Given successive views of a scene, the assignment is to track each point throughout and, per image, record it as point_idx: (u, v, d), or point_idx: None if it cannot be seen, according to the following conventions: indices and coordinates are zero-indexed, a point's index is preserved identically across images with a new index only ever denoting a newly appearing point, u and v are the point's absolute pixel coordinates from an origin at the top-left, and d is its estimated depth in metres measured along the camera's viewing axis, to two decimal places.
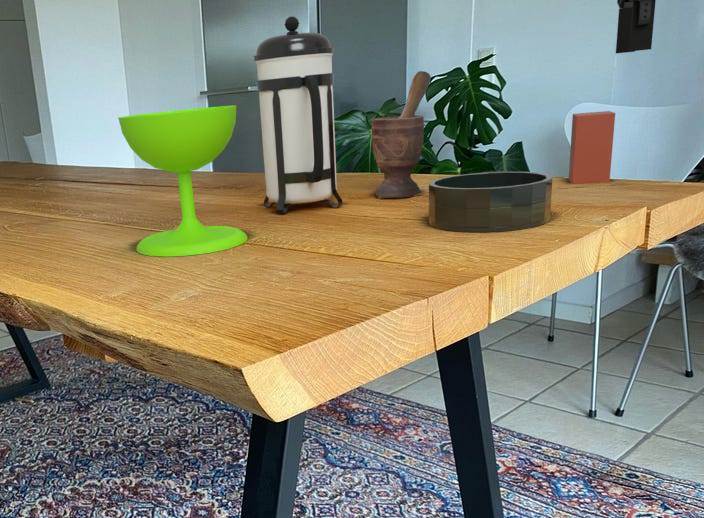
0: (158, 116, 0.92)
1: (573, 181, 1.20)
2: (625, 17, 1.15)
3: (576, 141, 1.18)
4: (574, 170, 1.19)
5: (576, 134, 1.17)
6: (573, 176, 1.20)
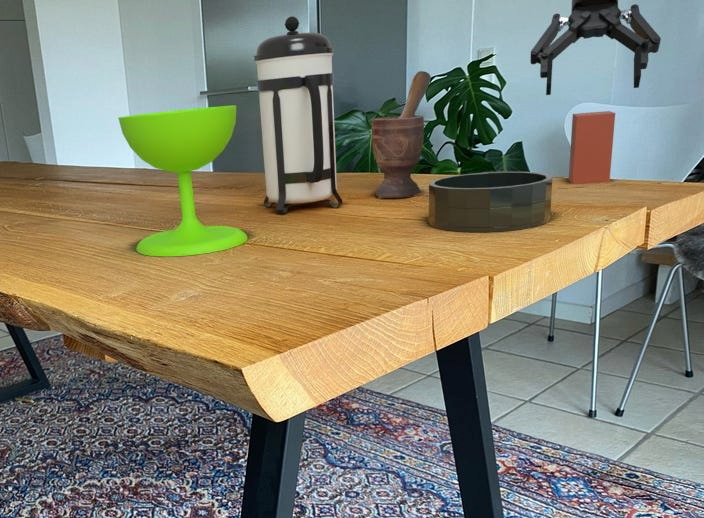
0: (158, 116, 0.92)
1: (573, 181, 1.20)
2: (634, 60, 1.25)
3: (576, 141, 1.18)
4: (574, 170, 1.19)
5: (576, 134, 1.17)
6: (573, 176, 1.20)
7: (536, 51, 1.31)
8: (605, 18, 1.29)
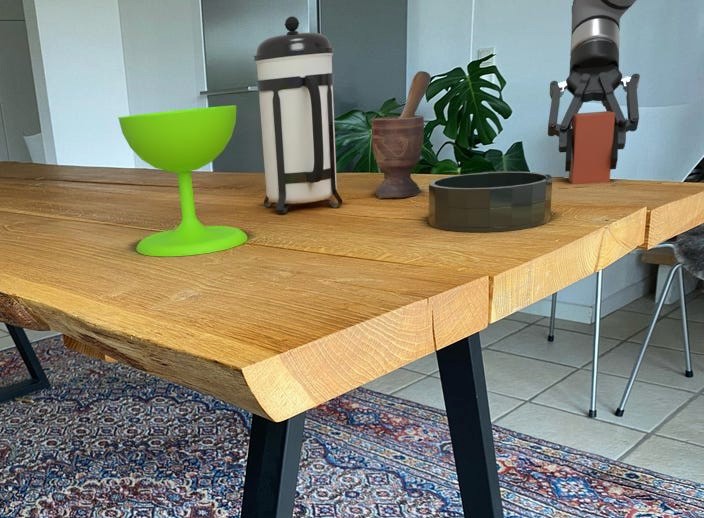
0: (158, 116, 0.92)
1: (573, 181, 1.20)
2: None
3: (576, 141, 1.18)
4: (574, 170, 1.19)
5: (576, 134, 1.17)
6: (573, 176, 1.20)
7: (554, 123, 1.22)
8: (605, 82, 1.21)
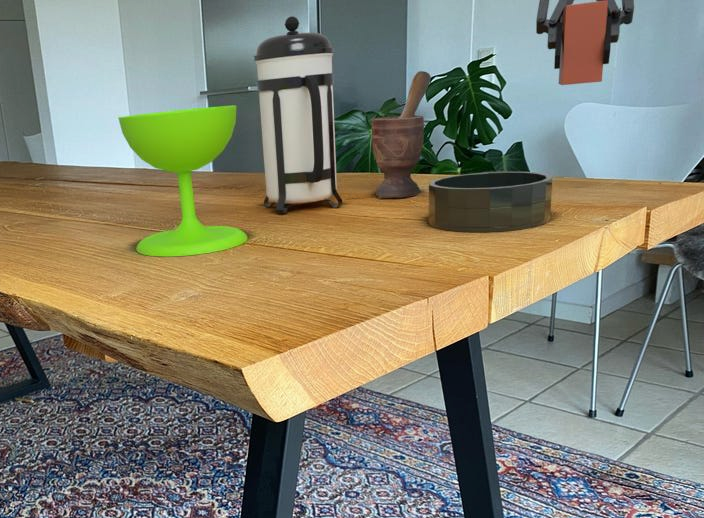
0: (158, 116, 0.92)
1: (563, 79, 1.11)
2: None
3: (566, 34, 1.09)
4: (564, 67, 1.10)
5: (566, 26, 1.08)
6: (563, 74, 1.11)
7: (543, 17, 1.13)
8: None
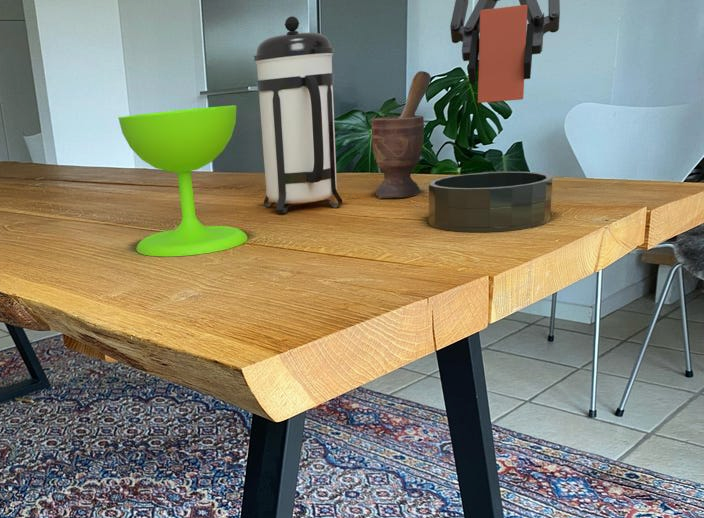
0: (158, 116, 0.92)
1: (479, 96, 0.95)
2: None
3: (481, 43, 0.93)
4: (480, 82, 0.95)
5: (480, 34, 0.93)
6: (479, 90, 0.95)
7: (457, 24, 0.97)
8: None
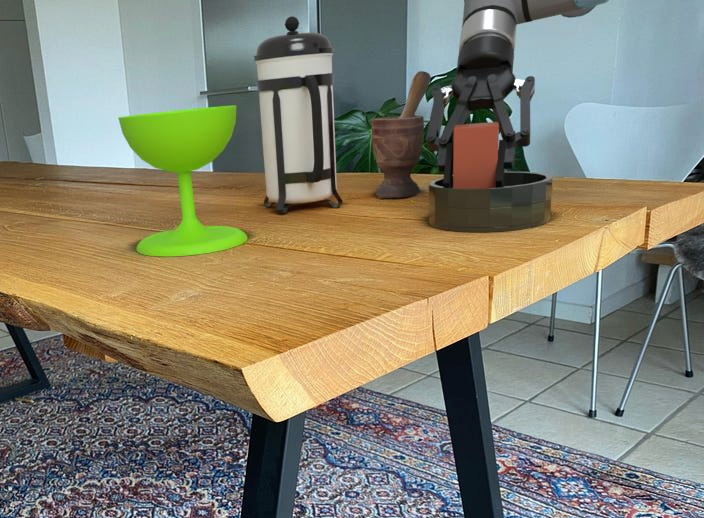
0: (158, 116, 0.92)
1: None
2: None
3: (455, 159, 0.96)
4: None
5: (454, 150, 0.96)
6: None
7: (433, 136, 1.00)
8: (494, 86, 1.00)
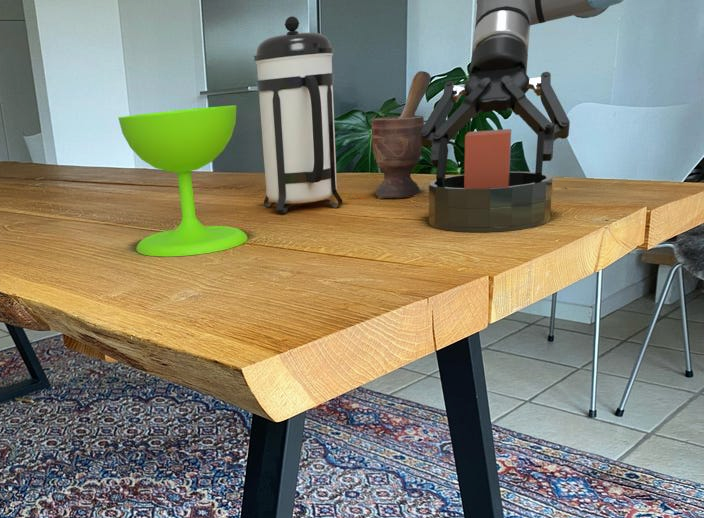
0: (158, 116, 0.92)
1: None
2: None
3: (466, 166, 0.97)
4: None
5: (465, 157, 0.97)
6: None
7: (426, 131, 1.01)
8: (508, 88, 0.99)
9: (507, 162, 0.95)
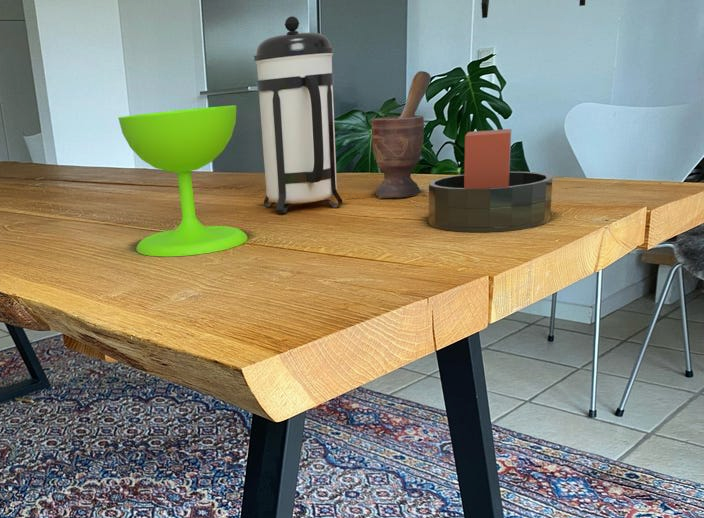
0: (158, 116, 0.92)
1: None
2: None
3: (466, 166, 0.97)
4: None
5: (465, 157, 0.97)
6: None
7: None
8: None
9: (507, 162, 0.95)
